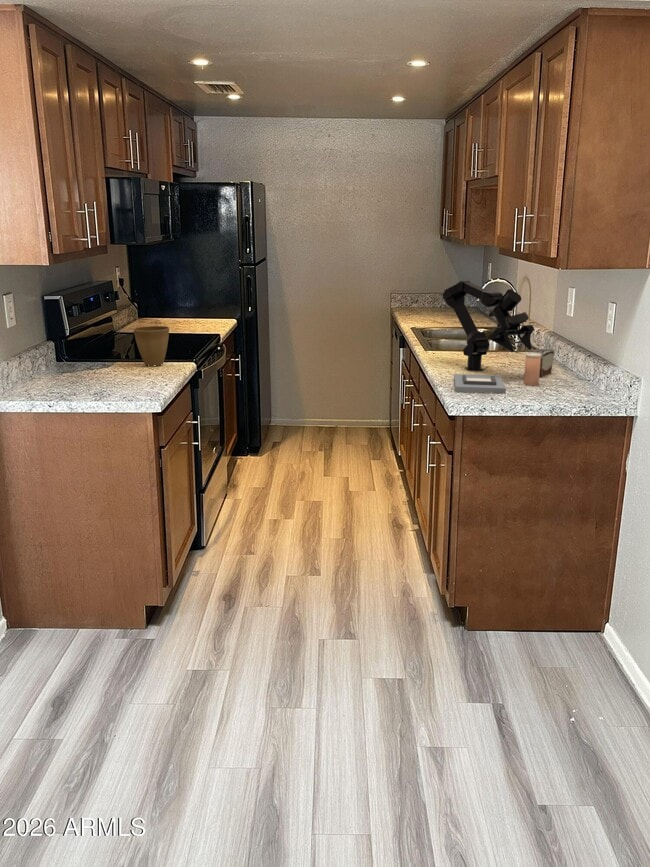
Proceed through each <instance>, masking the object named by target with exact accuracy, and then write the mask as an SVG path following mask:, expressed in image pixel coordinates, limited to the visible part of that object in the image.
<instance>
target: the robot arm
mask: <svg viewBox="0 0 650 867" xmlns="http://www.w3.org/2000/svg"><path fill="white" fill-rule="evenodd" d="M467 295H470V296H472V297H474V298H476V299H478V300H479V301H480V302H481V304H482V305H483V306H484V307H486V308H493V309H490V310H489V314H488V315H489V317H490V318H492V317H494V319H495V320H496V323H497V325H496V326H497V327H496V328H495V329H493V331H492V332H491V334H490V336H489V338H488V336H487V334H486V332H485V331H479V329H478V327H477V326H476V324H475V322H474V320H473V318H472V316H471V314H470V312H469V311H468V308H467V307H466V304H465V302H466V301H465V300H466V296H467ZM442 298H443V301H444V302H445V303H446V305H447V306H448V307H450V308H452V310H453V311H454V312H455V315H456V317H457V318H458V321H459V323H460V325H461V327H462V328H463V331H464V333H465V334H466V346H465V347H464V348H463V350H462V352H463V356H466V357H467V365H466V366H464V369H466V370H467V371H469V370H477V371H484V368H482V356H486V355H487V354H488V350H489V347H490V341H489V340H491V342H493V343H495V344H498V345H500V346H502V347H503V348H505V349H506V350H508V351H509V352H511V353H514V352H515V349H514V346H513V345H512V342H511V340H510V338H509V336H517V337H518V338H519V341H520V342H521V343H522V344H523V345H524V347H526V349H527V350H529V351H531V350H532V349H533V348H532V341H531V335H532V334H533V332H534V331H535V328H534V325H533V324H525V325H523V326H521V324H523V323H527V321H529V315H528V314H527V312H526V311H525V312H520V313H517V314H514V315H511V313H510V312H512V311H513V310H514V309H515V308H516V307H517V306H518V305H519V303H520V302H521V301H522V296H521V294H519V293H518V292H516V291H514V289H512V288H508V289H507V290H506V291H505V293H504V294H503V293H502V292H500V291H495V290H487V289H485V288H483V287H481V286H479V285H477V284H475V283H473V282H471V281H470V280H460V281H459V282H457V283H456V284H454V285H452V286H450V287H448V288H446V289H444V291H443V293H442ZM520 327H521V328H520ZM519 328H520V329H519Z"/></svg>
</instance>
